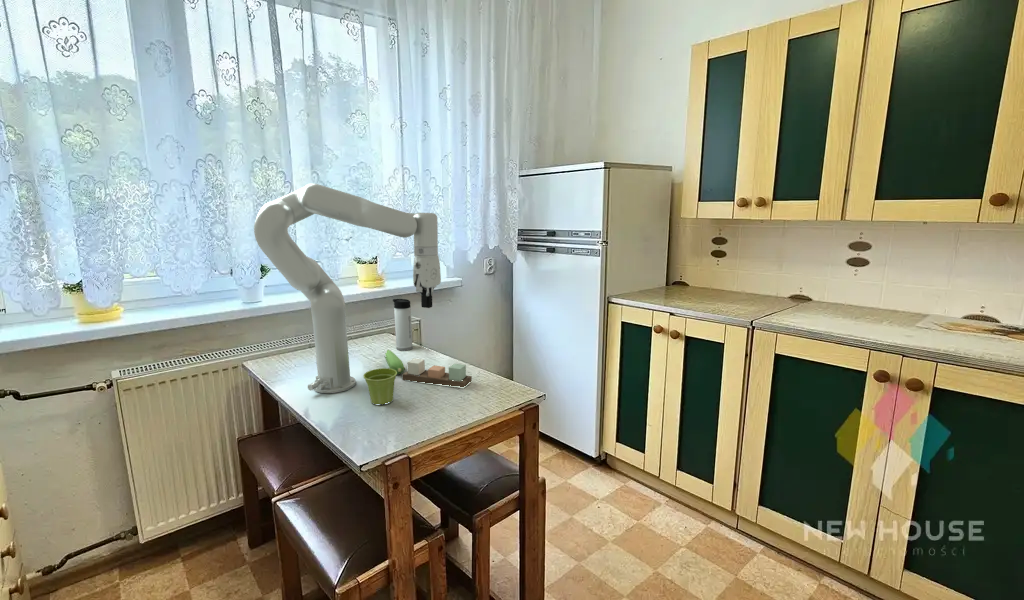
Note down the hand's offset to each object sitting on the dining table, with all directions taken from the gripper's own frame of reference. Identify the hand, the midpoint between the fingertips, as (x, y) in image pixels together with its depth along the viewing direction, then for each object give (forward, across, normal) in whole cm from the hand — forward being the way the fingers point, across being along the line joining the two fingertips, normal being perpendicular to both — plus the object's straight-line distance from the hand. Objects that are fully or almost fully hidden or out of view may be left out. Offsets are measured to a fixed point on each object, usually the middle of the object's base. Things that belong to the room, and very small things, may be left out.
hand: (426, 307), depth 161 cm
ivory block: (+21, -6, +1) cm, 22 cm away
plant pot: (+24, -25, 0) cm, 34 cm away
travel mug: (+23, +19, +23) cm, 38 cm away
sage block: (+21, -5, -14) cm, 26 cm away
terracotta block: (+22, -5, -7) cm, 24 cm away
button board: (+23, -5, -7) cm, 24 cm away
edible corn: (+24, 0, +14) cm, 27 cm away
